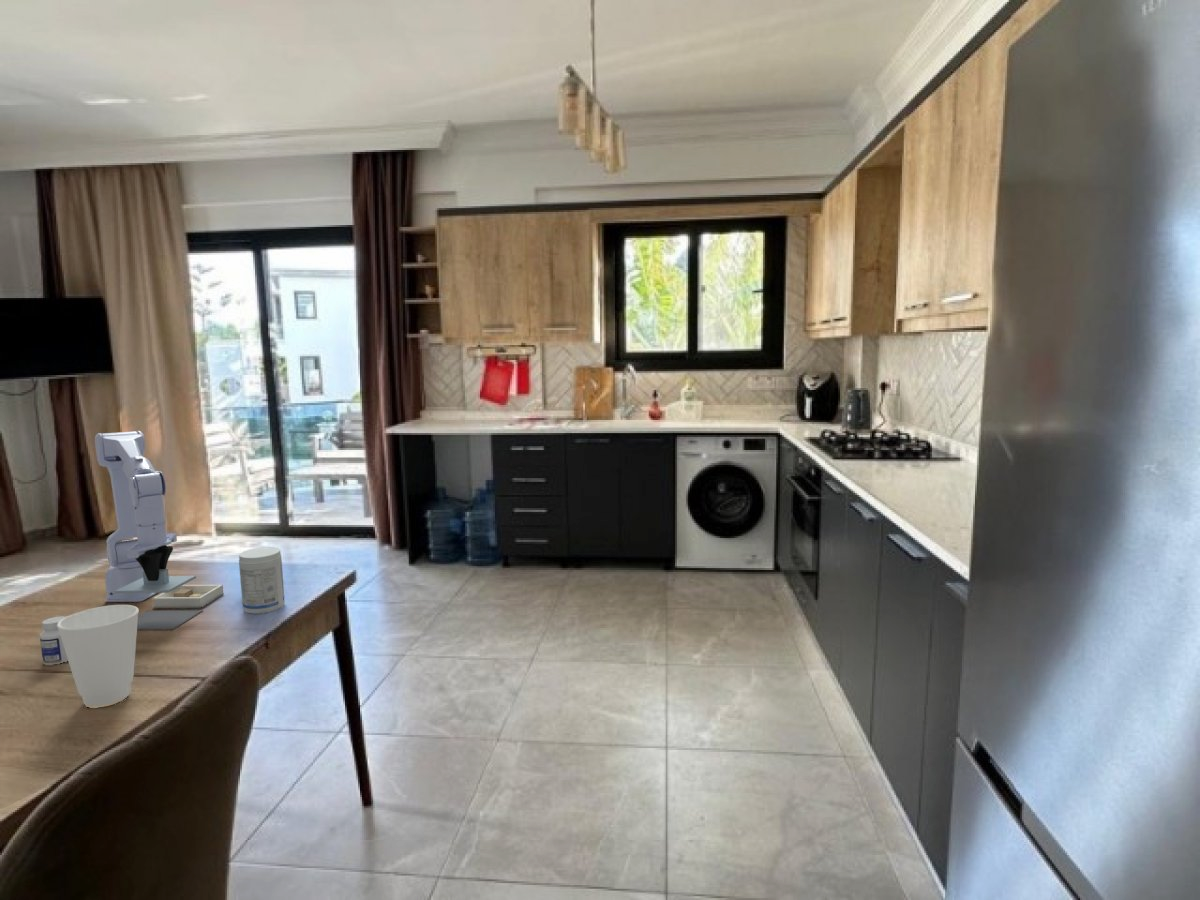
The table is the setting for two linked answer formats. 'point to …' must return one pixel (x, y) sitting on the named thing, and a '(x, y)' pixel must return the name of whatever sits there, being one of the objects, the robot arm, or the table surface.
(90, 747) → the table surface
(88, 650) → the cup
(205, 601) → the storage box
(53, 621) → the pill bottle
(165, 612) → the mat
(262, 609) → the supplement tub
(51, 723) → the table surface
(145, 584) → the lid
